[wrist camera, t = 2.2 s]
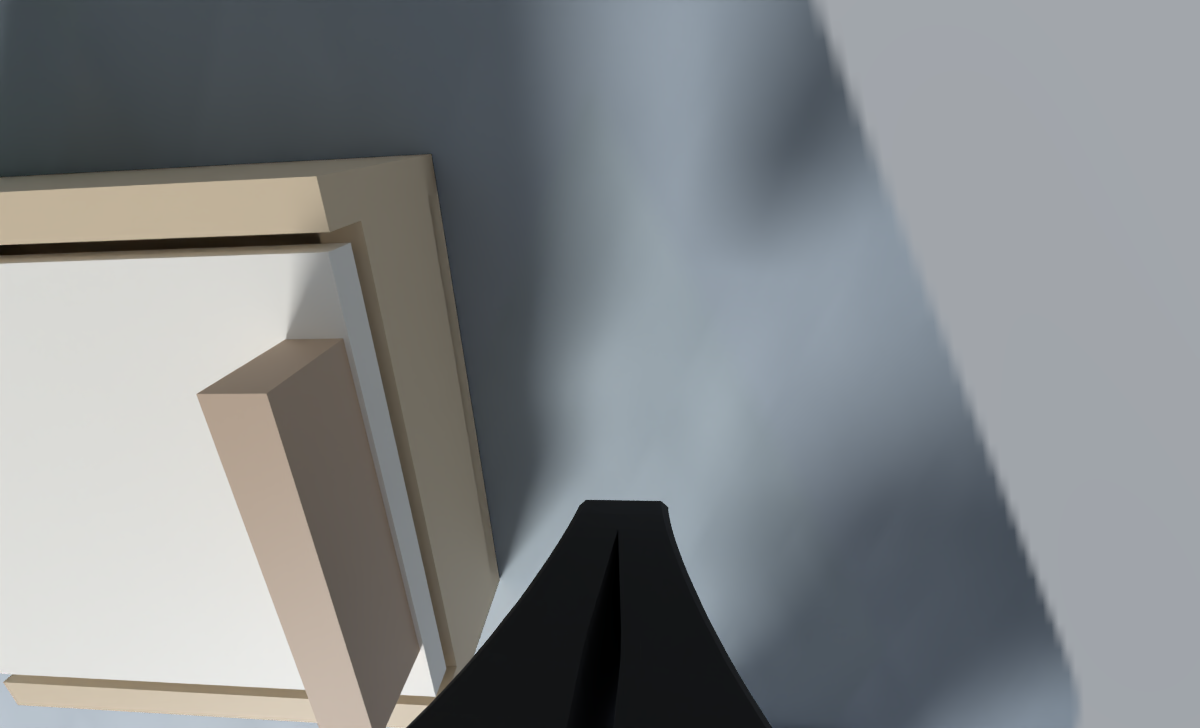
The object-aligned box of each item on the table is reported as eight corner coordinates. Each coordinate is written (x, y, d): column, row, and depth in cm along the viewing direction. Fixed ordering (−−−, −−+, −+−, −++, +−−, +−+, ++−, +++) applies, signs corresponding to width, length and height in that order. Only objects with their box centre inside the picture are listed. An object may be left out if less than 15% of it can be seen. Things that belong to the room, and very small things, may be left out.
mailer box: (499, 580, 17) (447, 730, 13) (163, 570, 19) (17, 705, 14) (431, 153, 13) (316, 176, 8) (-15, 177, 14) (-311, 207, 10)
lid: (446, 669, 13) (398, 795, 11) (29, 649, 15) (-99, 759, 12) (350, 242, 9) (241, 290, 7) (-207, 263, 11) (-467, 309, 8)
